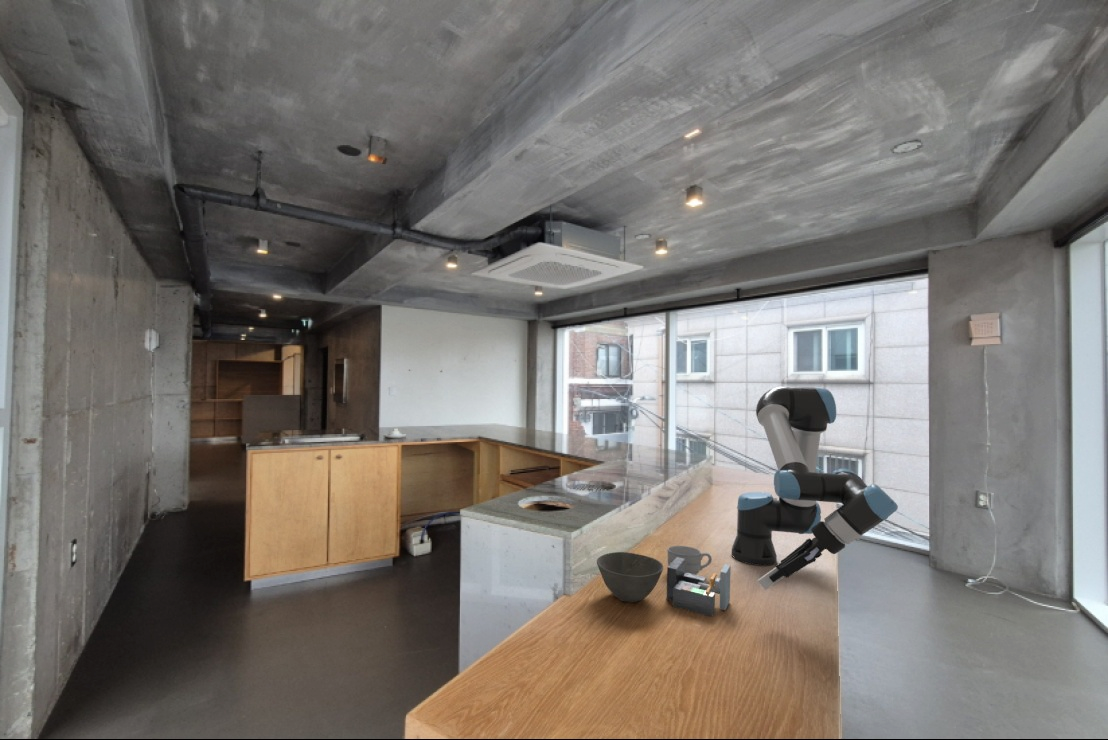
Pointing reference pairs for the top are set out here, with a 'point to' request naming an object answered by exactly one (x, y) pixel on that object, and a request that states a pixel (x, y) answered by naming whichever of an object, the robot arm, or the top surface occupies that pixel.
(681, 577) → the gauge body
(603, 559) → the bowl
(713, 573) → the orange bar
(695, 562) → the teacup
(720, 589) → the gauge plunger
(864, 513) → the robot arm
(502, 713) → the top surface
